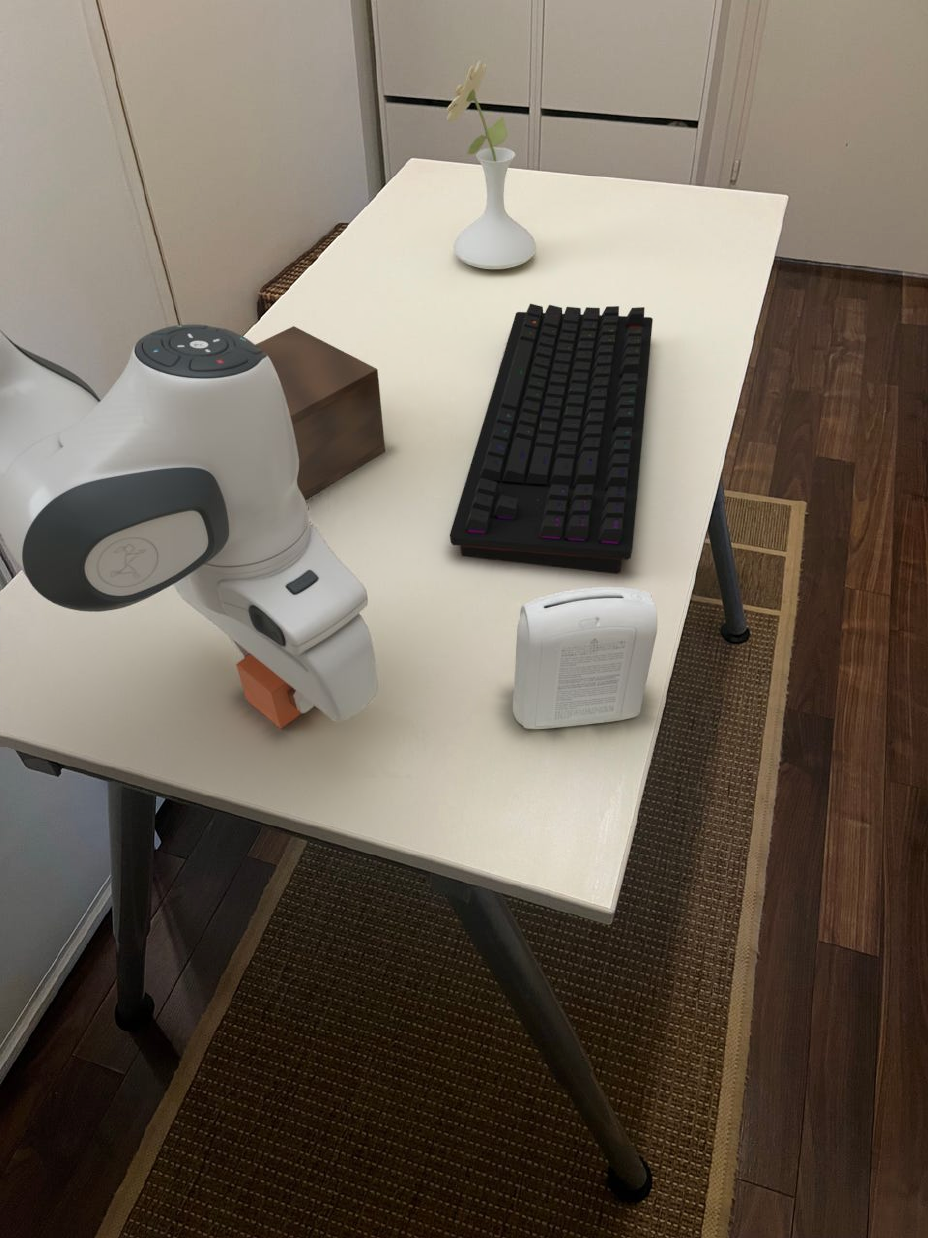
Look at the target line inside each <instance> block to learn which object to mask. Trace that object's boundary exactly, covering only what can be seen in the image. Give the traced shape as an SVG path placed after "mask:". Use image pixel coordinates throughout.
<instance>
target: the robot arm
mask: <svg viewBox="0 0 928 1238" xmlns="http://www.w3.org/2000/svg"><path fill="white" fill-rule="evenodd" d="M298 471H299V456H298V450H297V445H296V439H295V434H294V430H293V425H292V421H291V417H290V413H289V409H288V405H287V401H286V398H285V395H284V392H283V388H282V386H281V383H280V380H279V377H278V375H277V372H276V370H275V368H274V366H273V364H272V362H271V360H270V358H269V357H268V356H267V354H266V353H265V352H264V351H263V350H261V349H260V348H259V347H258V346H256V343H254V342H252V341H251V340H250V339H248V338H246V337H244V336H243V335H242V334H239V333H237V332H235V331H233V330H230V329H227V328H221V327H216V326H210V325H207V324H178V325H172V326H166V327H163V328H159V329H158V330H154V331H152V332H150V333H147V334H145V335H144V336H142V337H141V338H140V339H138V340H137V341H136V342H135V344H134V345H133V348H132V350H131V353H130V356H129V359H128V362H127V364H126V366H125V368H124V369H123V371H122V373H121V375H120V376H119V377H118V378H117V380H116V381H115V382H114V384H113V385H112V386H111V388H110V389H109V390H108V392H107V393H106V394H105V396H103V397H102V398H101V399H100V397H99V396H98V394H97V393H96V392H95V391H94V390H93V389H92V388H91V386H90V385H89V384H88V383H87V382H86V381H84V380H83V379H82V378H81V377H79V376H78V375H76V374H75V373H74V372H72V371H70V370H69V369H67V368H65V367H63V366H61V365H59V364H57V363H55V362H53V361H50V360H49V359H47V358H44V357H42V356H40V355H38V354H35V353H33V352H31V351H29V350H27V349H26V348H24V347H21V346H20V345H18V344H17V343H15V342H14V341H13V340H11V339H10V338H9V337H8V336H7V335H6V334H5V333H4V332H3V331H2V330H1V329H0V540H1V541H2V542H3V545H4V546H5V548H6V550H8V552H9V554H10V555H11V556H12V558H13V560H14V561H15V563H16V564H17V565H18V567H19V568H20V570H21V571H22V573H23V574H24V575H25V576H26V578H27V580H28V581H29V584H30V585H31V586H32V587H33V588H34V590H36V592H37V593H38V594H39V595H40V596H42V597H43V598H45V600H47V601H49V602H51V603H53V604H55V605H57V606H59V607H61V608H64V609H68V610H73V611H78V612H90V613H93V612H94V613H97V612H108V611H109V612H110V611H115V610H120V609H124V608H127V607H130V606H132V605H135V604H138V603H140V602H142V601H145V600H146V599H149V598H151V597H152V596H154V595H155V596H156V595H157V594H158V593H160V592H162V591H164V590H166V589H167V588H169V587H171V586H174V588H175V590H176V592H177V593H178V595H179V596H180V597H181V599H182V600H183V601H184V602H186V603H187V604H188V605H190V606H191V607H192V608H193V609H194V610H196V611H197V612H198V613H199V614H201V615H202V616H203V617H204V618H206V620H207V621H209V622H211V624H213V625H214V626H215V627H217V628H218V629H219V630H221V631H222V632H223V633H224V634H225V635H226V636H227V637H228V638H229V640H230V641H231V643H232V644H233V646H234V647H235V649H236V650H237V652H238V653H239V656H240V660H242V659H244V658H245V657H247V656H248V655H250V654H251V655H253V656H254V657H255V658H256V659H258V660H259V661H260V662H261V663H263V664H264V665H265V666H266V667H267V668H269V669H270V670H271V671H272V672H274V673H275V674H276V675H277V676H279V677H280V678H281V679H282V680H284V681H285V682H286V683H287V684H289V685H290V686H291V687H292V688H291V689H290V690H288V691H287V694H288V698H289V702H290V704H292V705H293V706H294V707H295V708H296V709H297V710H298V711H300V712H301V714H306V713H307V712H309V711H310V710H311V709H312V708H314V707H316V708H317V709H318V710H319V711H320V712H322V713H323V714H324V715H326V716H327V717H328V718H329V719H330V720H331V721H332V722H334V723H343V722H344V721H347V720H349V719H350V718H352V717H353V716H355V715H356V714H357V713H359V712H361V710H363V709H364V708H365V707H367V706H368V704H370V703H371V702H372V701H373V700H374V698H375V697H376V695H377V693H378V686H379V685H378V671H377V663H376V656H375V649H374V645H373V643H374V642H373V640H372V636H371V632H370V629H369V627H368V624H367V623H366V620H364V617H363V616H362V615H361V614H360V613H361V612H362V611H363V610H364V609H365V608H366V607H368V604H369V599H368V592H367V590H366V588H365V585H364V584H363V582H362V581H361V580H360V579H359V578H358V577H357V576H356V575H355V574H354V573H353V572H352V571H351V570H350V569H349V568H348V567H347V566H346V565H345V564H344V563H343V562H342V561H341V559H340V558H339V557H338V556H337V555H336V553H335V552H334V551H333V550H332V549H331V547H330V546H329V545H328V543H327V542H326V540H325V538H324V537H323V535H322V534H321V532H320V530H319V529H318V528H317V527H316V526H315V525H314V524H311V520H310V519H311V518H310V514H309V508H308V504H307V500H305V499H304V497H303V495H302V493H301V491H300V490H299V488H298V485H297V476H298Z"/></svg>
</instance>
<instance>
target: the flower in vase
mask: <svg viewBox="0 0 928 1238" xmlns="http://www.w3.org/2000/svg"><path fill="white" fill-rule="evenodd" d="M486 71H487V64H486V63H484V62H482V59H479V60H478V62H477V64H476V66H474V64H472V65H471V66H470V67H469V70H468V72H467V75H466V77H465V80H464V84H459V85H458V86H457V87H456V89H455V91H454V92H455V95H456V96H457V97H455V98H454V99H453V100H452V101H451V103H450V104H449V105H448V106H447V108H446V113H448V115H447V116H446V121H449V123H454V122H456V121H458V120H459V118H460V117H461V116H462V115H463V114H464V113H465V112H466V110H467V108H469V106H470V105H471V104H472V102H474V104H475V107H476V108H477V111H478V113H479V116H480V119H481V122H482V125H483V128H484V132H485V134H481V135H479V136H478V137H476V138H475V139H474V140H473V141H472V142H471V144H470V146H468V150H467V151H466V156H469V155H474V154H475V156H476V158H477V159H476V160H478V162H479V163H480V165H481V167H482V169H483V170H482V171H483V172H484V177H485V186H486V205H485V209H484V212H483V214H482V215H481V216H480V217H478V218H477V219H475V221H473V222H472V223H471V224H470V225H468V226H467V227H466V228H464V229H463V230H462V231H461V232H460V234H458V236H456V239H455V241H454V244H453V252H454V253H455V255H456V257H457V258H458V259H459V260H460V261H461V262H462V263H465V264H466V265H469V266H471V267H475V268H479V269H484V270H505V269H510V268H514V267H519V266H521V265H523V264H524V263H525V264H526V263H527V262H528V261H529V260H530V259H531V258H532V257H533V256H534V255H535V254H536V251H537V244H536V241H535V238H534V237H533V236H532V234H531V233H530V232H529V231H528V230H527V229H526V228H525V227H524V226H522V225H521V224H520V223H518V222H517V221H516V220H514V219H513V218H512V217H511V216H510V215H509V214H508V212H507V211H506V208H505V201H504V200H505V197H504V196H505V183H506V177H507V173H508V170H509V167H510V164H511V163H512V161H513V160H514V159H515V157H516V153H515V152H514V151H513V150H512V149H509V148H507V147H499V146H498V145H500V144H503V142H505V141H506V139H507V137H508V132H507V127H506V123H505V119H504V116H501V117H500V118H499V119H498V120H497V121H496V122H494V123H493V124H492V125H491V126H490V127H489V128H488V126H487V122H486V118H485V116H484V114H483V111H482V109H481V106H480V104H479V101H478V99H477V93H478V91H479V89H480V88H481V84H482V82H483V79H484V76H485V73H486ZM486 140H487V142H488V145H489V147H486V148H482V146H483V145H484V143H485V142H486ZM497 146H498V147H497Z"/></svg>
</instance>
